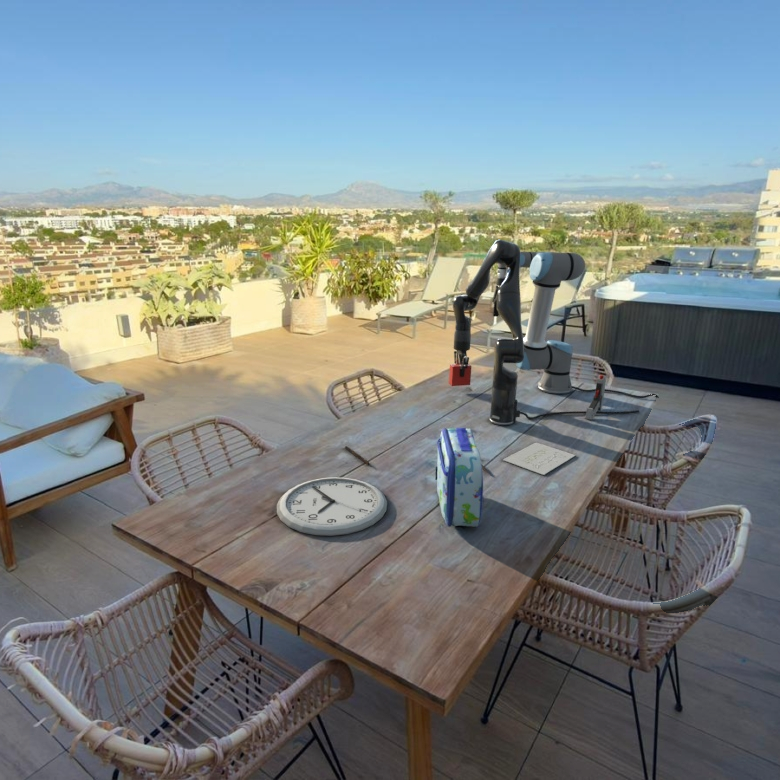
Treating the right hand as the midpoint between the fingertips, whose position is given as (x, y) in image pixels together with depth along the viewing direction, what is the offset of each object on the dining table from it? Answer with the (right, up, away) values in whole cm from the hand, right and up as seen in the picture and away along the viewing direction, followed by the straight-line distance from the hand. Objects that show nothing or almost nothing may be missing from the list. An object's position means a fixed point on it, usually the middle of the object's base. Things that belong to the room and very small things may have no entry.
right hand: (501, 318), depth 277 cm
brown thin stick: (-70, -60, -103) cm, 139 cm away
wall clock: (-75, -69, -134) cm, 168 cm away
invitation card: (-9, -61, -102) cm, 119 cm away
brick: (-26, -35, -31) cm, 54 cm away
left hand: (-26, -31, -32) cm, 52 cm away
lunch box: (-41, -70, -134) cm, 157 cm away
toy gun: (+25, -48, -61) cm, 82 cm away
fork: (-31, -62, -107) cm, 128 cm away
